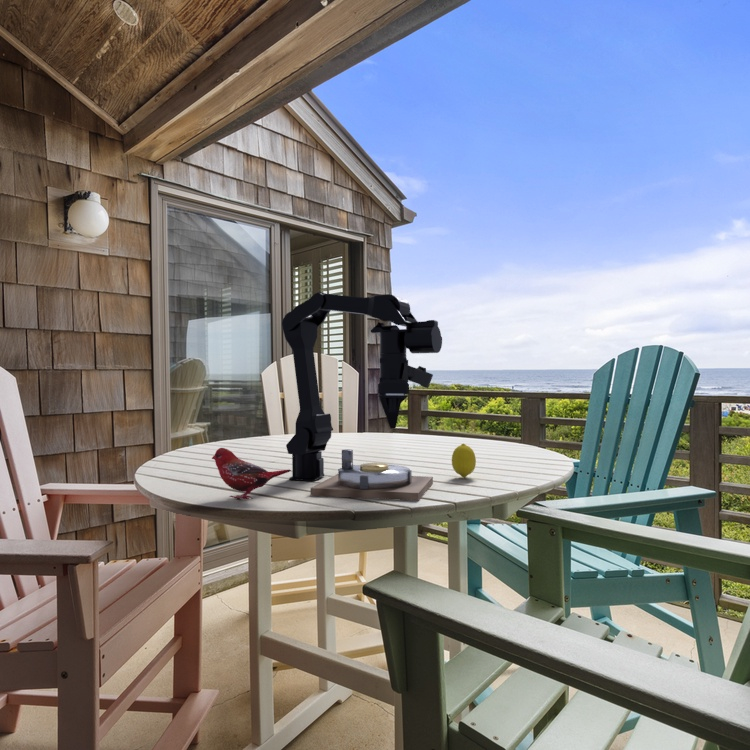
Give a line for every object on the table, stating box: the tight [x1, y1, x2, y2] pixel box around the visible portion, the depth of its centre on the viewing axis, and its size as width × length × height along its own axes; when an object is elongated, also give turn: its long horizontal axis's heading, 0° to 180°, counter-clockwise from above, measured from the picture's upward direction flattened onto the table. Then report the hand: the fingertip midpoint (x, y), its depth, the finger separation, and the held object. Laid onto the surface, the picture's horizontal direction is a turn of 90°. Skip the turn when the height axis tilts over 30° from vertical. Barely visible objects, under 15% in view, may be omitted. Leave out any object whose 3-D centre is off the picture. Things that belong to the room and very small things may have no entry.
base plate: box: [309, 473, 434, 502], centre depth 107 cm, size 22×17×2 cm
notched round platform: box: [337, 449, 413, 489], centre depth 107 cm, size 16×16×6 cm
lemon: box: [451, 443, 477, 479], centre depth 119 cm, size 6×6×8 cm
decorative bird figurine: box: [211, 447, 292, 500], centre depth 99 cm, size 3×18×10 cm, turn 72°
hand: (392, 426), depth 110 cm, fingers open, 9 cm apart
